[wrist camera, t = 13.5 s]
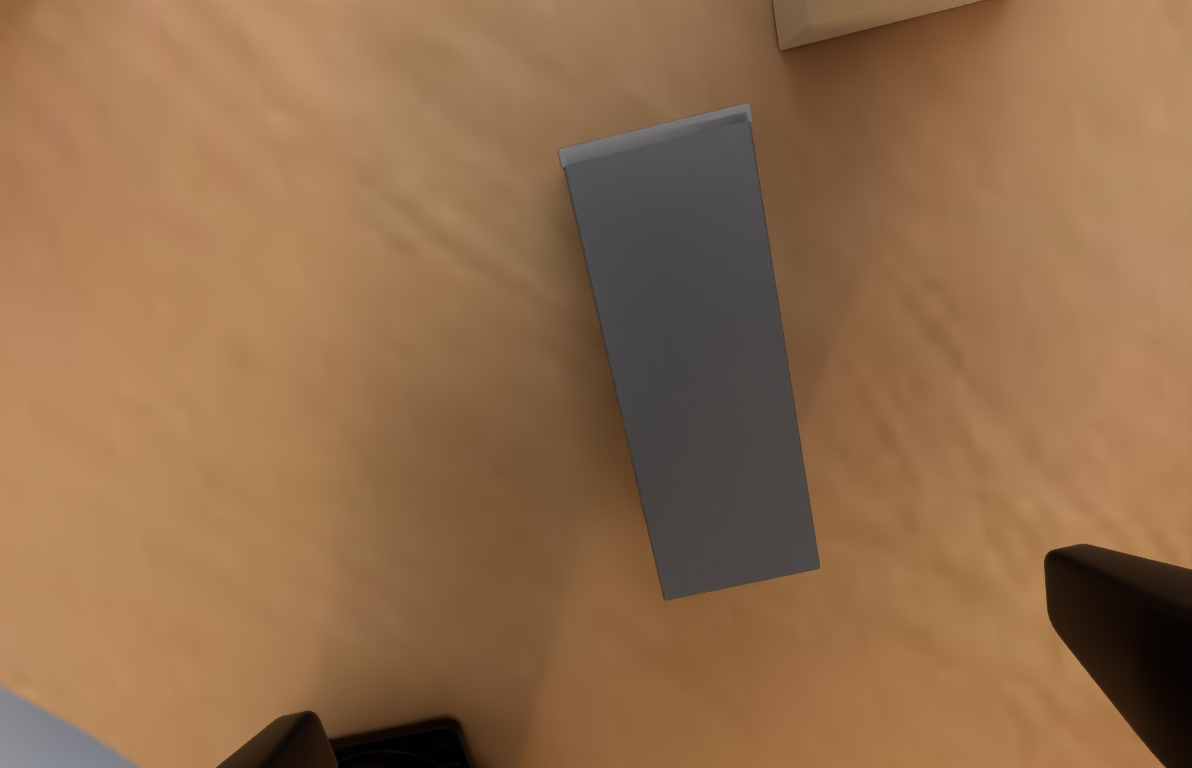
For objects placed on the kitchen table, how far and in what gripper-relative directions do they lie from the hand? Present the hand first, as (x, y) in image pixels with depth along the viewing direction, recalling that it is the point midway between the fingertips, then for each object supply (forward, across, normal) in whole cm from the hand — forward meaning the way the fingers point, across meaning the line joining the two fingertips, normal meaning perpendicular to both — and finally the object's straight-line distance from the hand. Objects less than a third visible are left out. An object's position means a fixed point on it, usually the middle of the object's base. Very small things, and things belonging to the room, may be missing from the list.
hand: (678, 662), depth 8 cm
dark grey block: (+12, -2, -1) cm, 12 cm away
